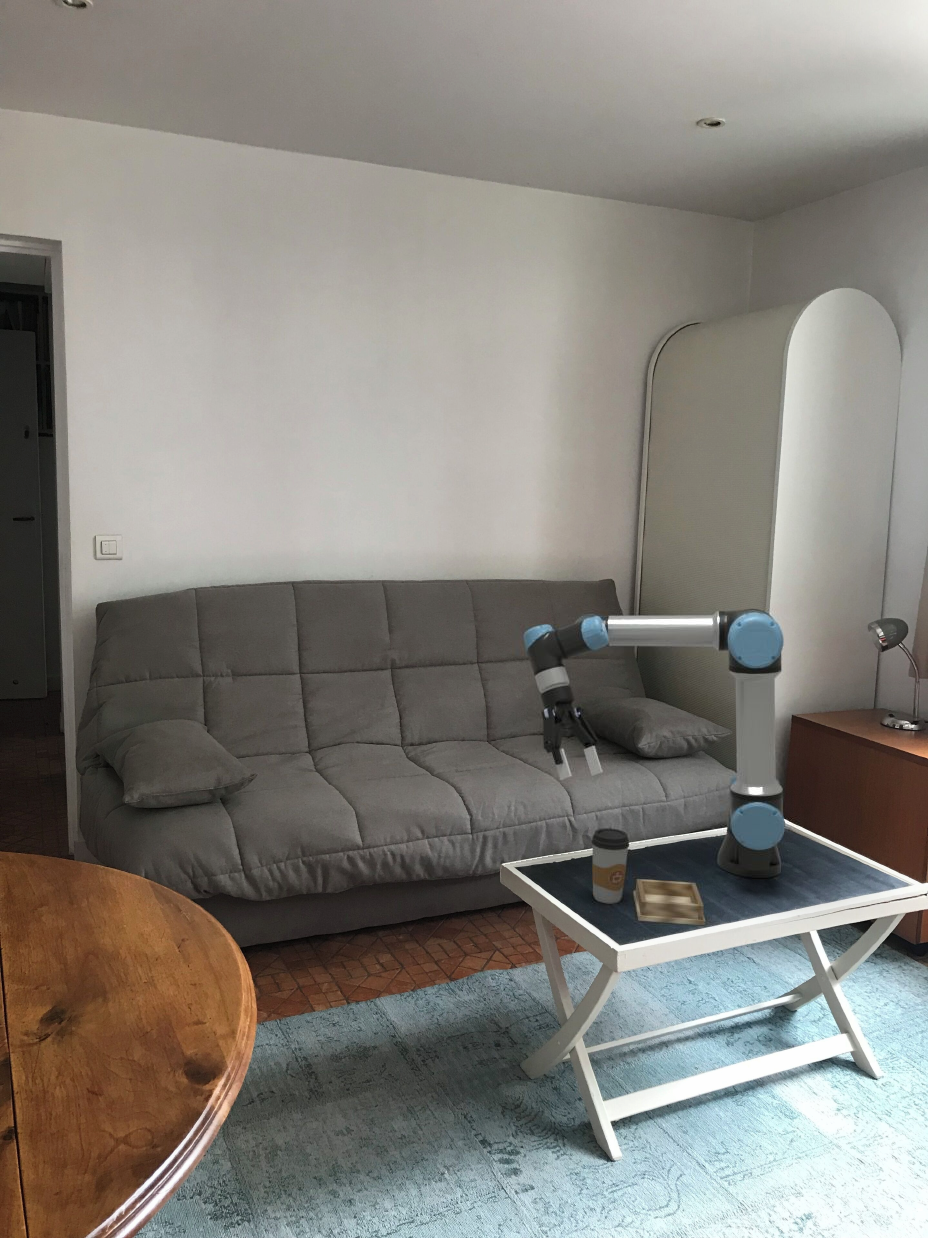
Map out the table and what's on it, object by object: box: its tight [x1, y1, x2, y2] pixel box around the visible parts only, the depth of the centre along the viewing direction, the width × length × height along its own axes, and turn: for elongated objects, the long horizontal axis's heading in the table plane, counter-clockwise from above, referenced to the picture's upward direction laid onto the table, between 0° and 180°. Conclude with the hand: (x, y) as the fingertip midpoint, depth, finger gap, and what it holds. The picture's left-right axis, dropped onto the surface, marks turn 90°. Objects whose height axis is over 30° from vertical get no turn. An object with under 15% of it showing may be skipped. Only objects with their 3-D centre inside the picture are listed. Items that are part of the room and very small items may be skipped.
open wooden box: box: [632, 878, 706, 926], centre depth 218 cm, size 14×14×4 cm
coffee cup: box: [591, 828, 630, 905], centre depth 222 cm, size 8×8×15 cm
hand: (582, 776), depth 229 cm, fingers open, 13 cm apart
